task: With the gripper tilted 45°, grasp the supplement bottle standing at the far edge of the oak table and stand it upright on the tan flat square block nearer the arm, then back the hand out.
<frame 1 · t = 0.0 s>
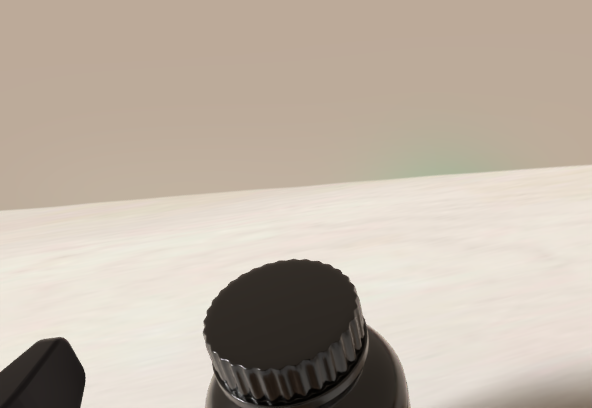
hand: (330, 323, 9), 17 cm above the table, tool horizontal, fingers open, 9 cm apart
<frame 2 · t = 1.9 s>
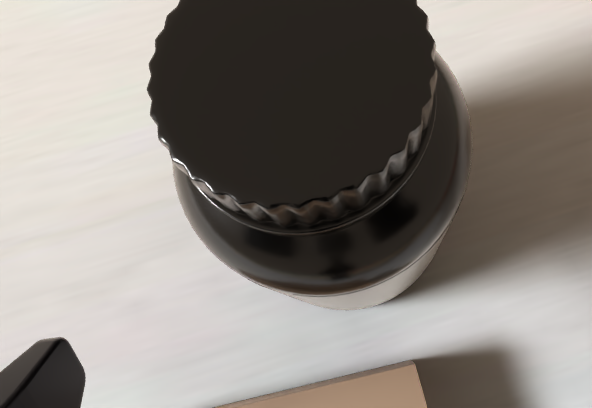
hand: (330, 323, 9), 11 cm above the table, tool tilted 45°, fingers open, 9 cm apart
supplement bottle: (344, 218, 20), on the table
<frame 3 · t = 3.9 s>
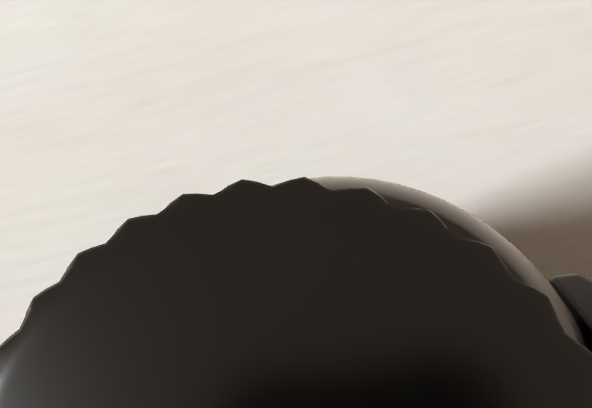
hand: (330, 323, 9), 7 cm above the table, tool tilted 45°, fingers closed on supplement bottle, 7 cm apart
supplement bottle: (360, 376, 15), on the table, touching gripper
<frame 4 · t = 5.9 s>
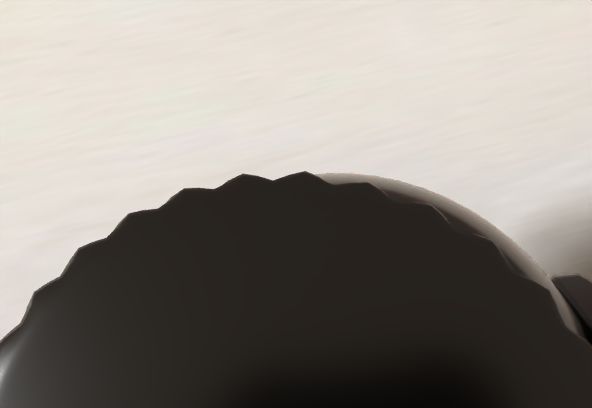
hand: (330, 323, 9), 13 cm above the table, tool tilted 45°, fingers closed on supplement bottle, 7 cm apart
supplement bottle: (360, 374, 15), point 6 cm above the table, touching gripper
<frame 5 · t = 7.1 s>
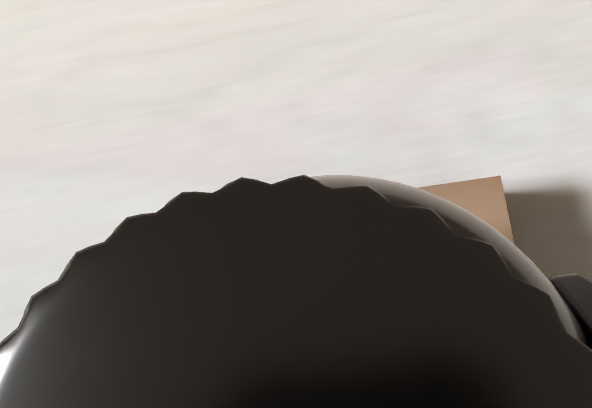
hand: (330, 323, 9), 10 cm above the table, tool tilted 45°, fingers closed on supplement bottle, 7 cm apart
supplement bottle: (360, 375, 15), point 4 cm above the table, touching gripper
tan flat square block: (362, 357, 19), on the table
when the fingers open (10 cm above the table, at t = 8.0 s): supplement bottle drops 1 cm, resting on tan flat square block.
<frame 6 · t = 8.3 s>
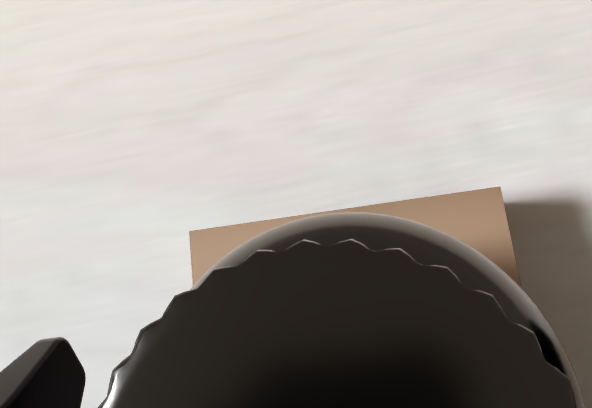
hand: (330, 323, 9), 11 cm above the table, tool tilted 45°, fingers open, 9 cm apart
supplement bottle: (363, 378, 16), point 2 cm above the table, touching tan flat square block
tan flat square block: (363, 366, 19), on the table
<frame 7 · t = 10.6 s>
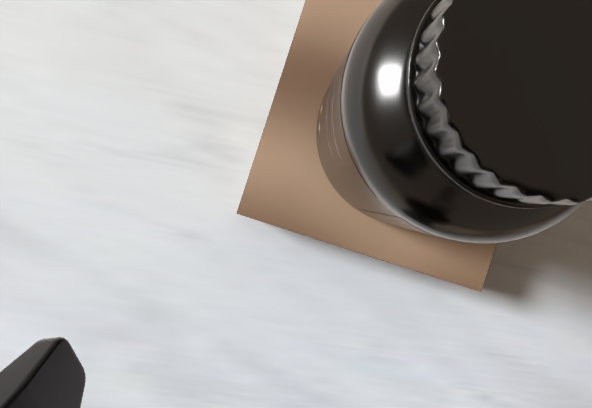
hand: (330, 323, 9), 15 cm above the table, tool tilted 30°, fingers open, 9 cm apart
supplement bottle: (399, 135, 21), point 2 cm above the table, touching tan flat square block
tan flat square block: (386, 135, 24), on the table
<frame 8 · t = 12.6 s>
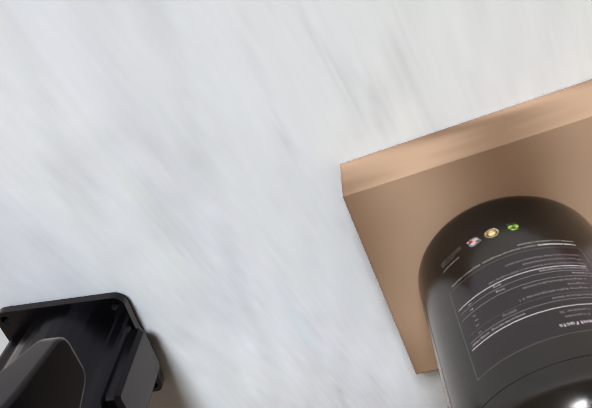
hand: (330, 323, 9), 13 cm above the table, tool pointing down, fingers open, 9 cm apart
supplement bottle: (502, 259, 21), point 2 cm above the table, touching tan flat square block
tan flat square block: (490, 224, 23), on the table
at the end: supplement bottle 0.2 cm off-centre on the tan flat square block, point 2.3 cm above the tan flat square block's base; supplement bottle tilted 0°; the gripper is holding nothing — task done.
